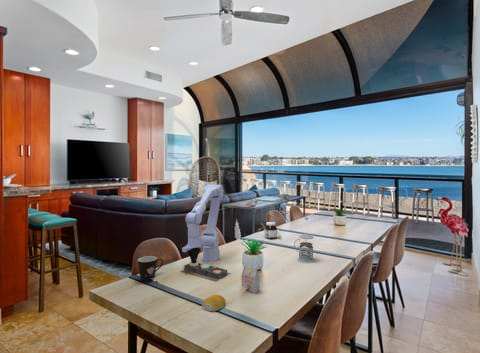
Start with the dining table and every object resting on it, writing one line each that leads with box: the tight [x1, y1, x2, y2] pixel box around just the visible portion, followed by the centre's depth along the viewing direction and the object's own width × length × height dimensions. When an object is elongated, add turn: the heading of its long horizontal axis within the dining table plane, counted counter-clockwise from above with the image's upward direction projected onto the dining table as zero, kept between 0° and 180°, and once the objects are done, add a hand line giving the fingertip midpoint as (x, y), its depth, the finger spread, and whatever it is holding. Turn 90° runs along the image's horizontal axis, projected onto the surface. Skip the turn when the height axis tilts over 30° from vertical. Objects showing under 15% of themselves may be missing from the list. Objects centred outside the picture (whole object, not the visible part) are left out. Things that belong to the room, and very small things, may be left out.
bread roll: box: [201, 294, 227, 312], centre depth 112 cm, size 8×9×4 cm
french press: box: [293, 216, 315, 264], centre depth 165 cm, size 10×12×25 cm
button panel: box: [179, 262, 232, 283], centre depth 143 cm, size 12×23×4 cm, turn 57°
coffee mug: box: [137, 255, 164, 283], centre depth 138 cm, size 12×9×10 cm
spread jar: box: [263, 221, 282, 240], centre depth 218 cm, size 12×11×12 cm
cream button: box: [188, 261, 199, 267], centre depth 147 cm, size 4×4×2 cm
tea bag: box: [241, 265, 260, 294], centre depth 126 cm, size 4×7×10 cm, turn 51°
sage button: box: [201, 263, 211, 270], centre depth 143 cm, size 4×4×2 cm
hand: (193, 262), depth 147 cm, fingers closed, pressing on cream button
